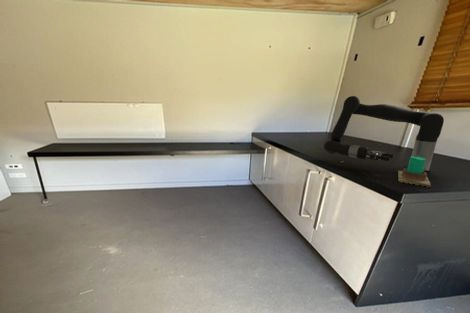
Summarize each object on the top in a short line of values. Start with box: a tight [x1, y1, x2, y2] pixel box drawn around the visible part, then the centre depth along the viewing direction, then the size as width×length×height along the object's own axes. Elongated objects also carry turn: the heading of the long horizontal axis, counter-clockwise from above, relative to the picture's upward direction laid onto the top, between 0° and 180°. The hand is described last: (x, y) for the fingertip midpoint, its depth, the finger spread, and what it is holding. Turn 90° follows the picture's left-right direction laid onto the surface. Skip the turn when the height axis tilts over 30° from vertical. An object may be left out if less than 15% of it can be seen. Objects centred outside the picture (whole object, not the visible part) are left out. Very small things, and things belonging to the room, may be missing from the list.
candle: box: [407, 155, 426, 174], centre depth 105 cm, size 6×6×12 cm
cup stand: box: [397, 167, 432, 188], centre depth 106 cm, size 18×12×4 cm, turn 142°
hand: (391, 157), depth 112 cm, fingers open, 8 cm apart
